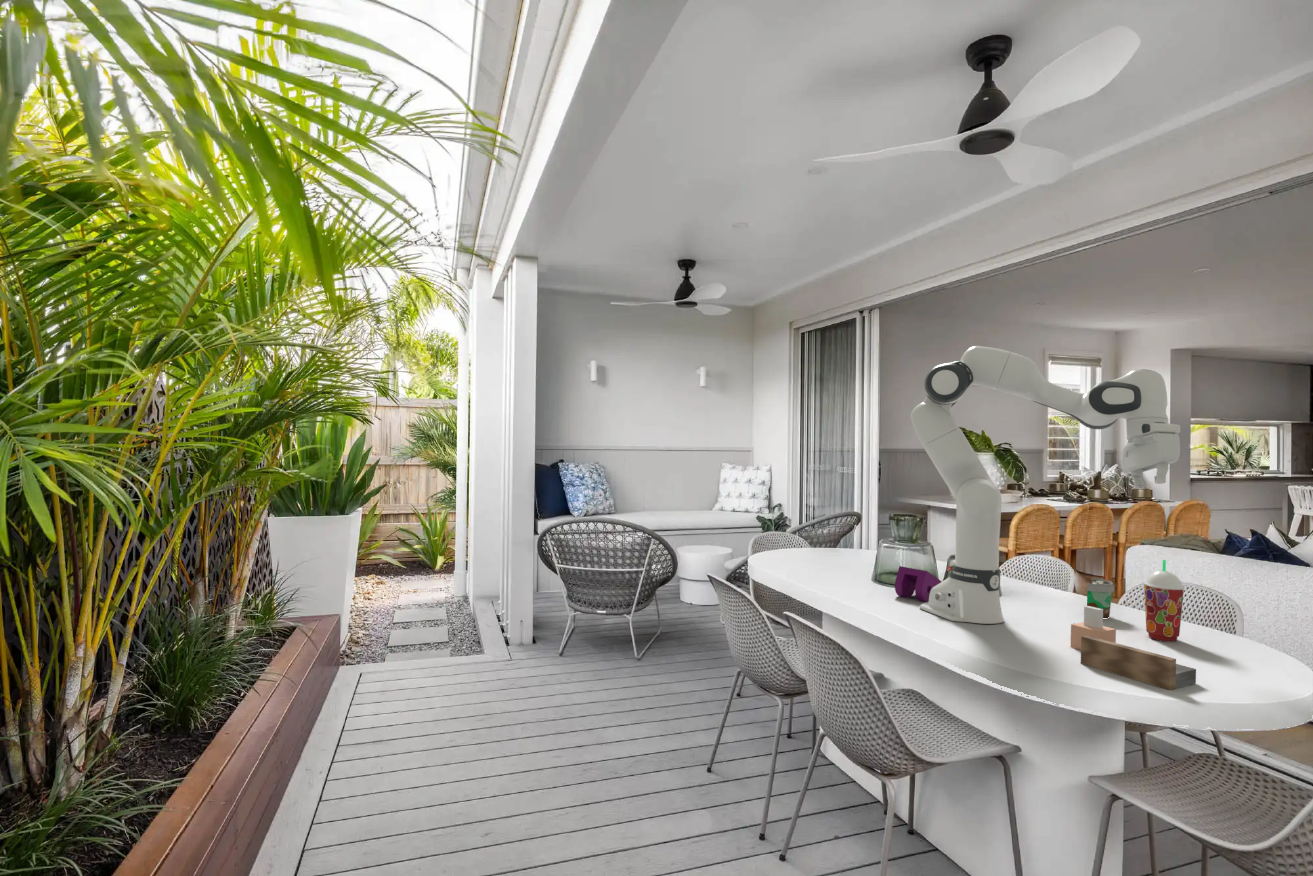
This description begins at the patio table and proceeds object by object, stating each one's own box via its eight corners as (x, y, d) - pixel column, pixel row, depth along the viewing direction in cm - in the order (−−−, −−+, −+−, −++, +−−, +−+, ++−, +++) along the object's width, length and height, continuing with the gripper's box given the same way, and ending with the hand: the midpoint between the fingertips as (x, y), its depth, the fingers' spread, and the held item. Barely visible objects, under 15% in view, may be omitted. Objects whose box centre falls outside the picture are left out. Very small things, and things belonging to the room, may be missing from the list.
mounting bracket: (920, 609, 227) (892, 591, 217) (927, 585, 230) (899, 566, 220) (948, 616, 220) (919, 597, 210) (954, 590, 222) (926, 571, 212)
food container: (1112, 623, 192) (1113, 586, 192) (1086, 619, 196) (1087, 583, 196) (1115, 614, 202) (1116, 580, 202) (1090, 611, 206) (1091, 577, 206)
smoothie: (1181, 638, 178) (1183, 559, 178) (1184, 645, 171) (1185, 564, 171) (1142, 632, 183) (1144, 556, 183) (1142, 639, 176) (1144, 560, 176)
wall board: (1080, 663, 156) (1081, 636, 156) (1106, 658, 160) (1106, 631, 160) (1169, 690, 140) (1170, 660, 140) (1195, 683, 144) (1196, 654, 144)
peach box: (1070, 647, 168) (1071, 605, 168) (1085, 644, 171) (1086, 603, 171) (1100, 655, 162) (1101, 612, 162) (1115, 652, 165) (1116, 610, 165)
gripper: (1113, 440, 188) (1115, 490, 186) (1155, 422, 169) (1158, 479, 166) (1139, 441, 187) (1141, 492, 185) (1184, 424, 168) (1187, 481, 165)
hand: (1149, 486), depth 175 cm, fingers open, 8 cm apart
